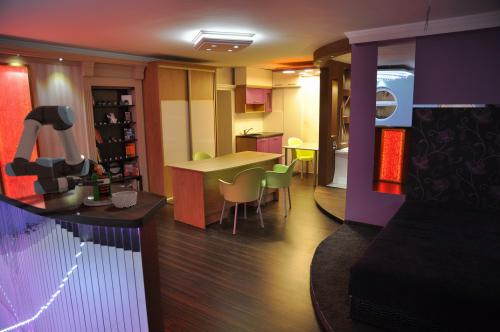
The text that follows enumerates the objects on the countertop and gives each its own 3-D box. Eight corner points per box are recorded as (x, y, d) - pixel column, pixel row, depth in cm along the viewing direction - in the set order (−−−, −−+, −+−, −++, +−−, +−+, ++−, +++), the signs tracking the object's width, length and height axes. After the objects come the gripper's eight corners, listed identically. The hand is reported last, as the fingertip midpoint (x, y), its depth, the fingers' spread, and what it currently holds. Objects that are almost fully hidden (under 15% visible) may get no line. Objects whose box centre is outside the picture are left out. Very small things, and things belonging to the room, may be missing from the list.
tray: (80, 201, 205) (80, 196, 205) (114, 196, 217) (114, 192, 217) (88, 208, 189) (87, 203, 189) (124, 202, 201) (124, 197, 201)
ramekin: (111, 209, 186) (110, 197, 185) (114, 203, 198) (113, 192, 197) (137, 207, 189) (136, 195, 188) (138, 201, 202) (137, 190, 201)
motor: (103, 202, 197) (100, 168, 194) (89, 201, 199) (87, 167, 196) (113, 197, 207) (111, 165, 204) (100, 197, 209) (98, 165, 206)
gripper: (63, 187, 201) (101, 182, 213) (71, 194, 181) (112, 188, 194) (62, 174, 200) (100, 170, 212) (70, 180, 180) (111, 175, 193)
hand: (106, 179), depth 203 cm, fingers open, 13 cm apart
